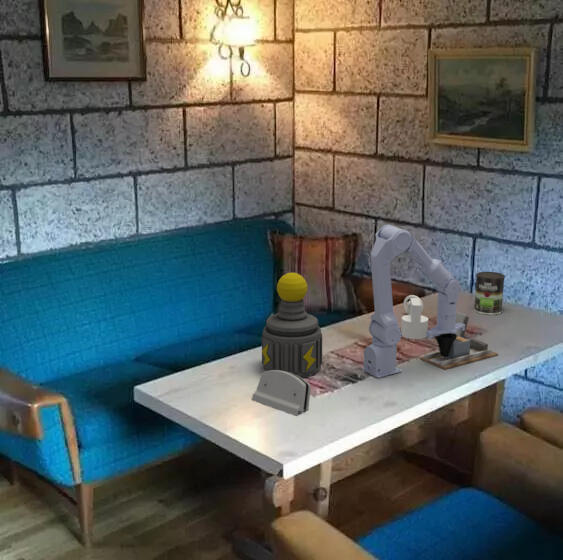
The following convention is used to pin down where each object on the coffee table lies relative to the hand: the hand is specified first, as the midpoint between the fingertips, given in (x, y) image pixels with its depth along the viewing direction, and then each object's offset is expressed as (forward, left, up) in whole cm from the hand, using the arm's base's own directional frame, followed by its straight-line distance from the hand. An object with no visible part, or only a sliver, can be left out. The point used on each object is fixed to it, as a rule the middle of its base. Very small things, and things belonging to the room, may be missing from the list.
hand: (444, 355), depth 244 cm
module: (+5, 0, -1) cm, 5 cm away
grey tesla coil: (-43, +21, -2) cm, 48 cm away
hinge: (-60, 0, -2) cm, 60 cm away
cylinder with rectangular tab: (+9, +24, -2) cm, 26 cm away
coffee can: (+51, +30, -2) cm, 59 cm away
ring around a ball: (+24, +41, -2) cm, 48 cm away
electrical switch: (+19, +16, -2) cm, 25 cm away
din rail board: (+7, 0, -2) cm, 7 cm away
